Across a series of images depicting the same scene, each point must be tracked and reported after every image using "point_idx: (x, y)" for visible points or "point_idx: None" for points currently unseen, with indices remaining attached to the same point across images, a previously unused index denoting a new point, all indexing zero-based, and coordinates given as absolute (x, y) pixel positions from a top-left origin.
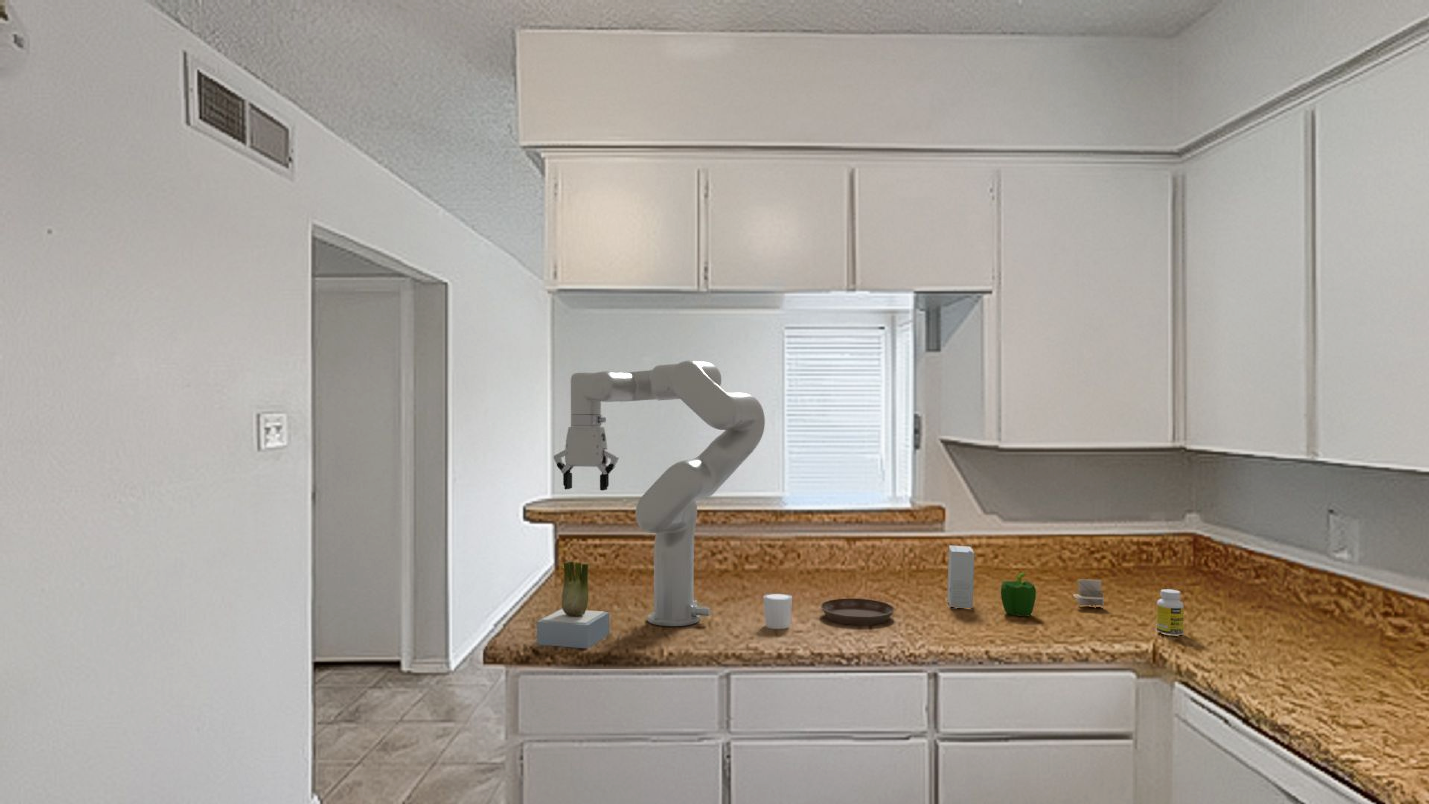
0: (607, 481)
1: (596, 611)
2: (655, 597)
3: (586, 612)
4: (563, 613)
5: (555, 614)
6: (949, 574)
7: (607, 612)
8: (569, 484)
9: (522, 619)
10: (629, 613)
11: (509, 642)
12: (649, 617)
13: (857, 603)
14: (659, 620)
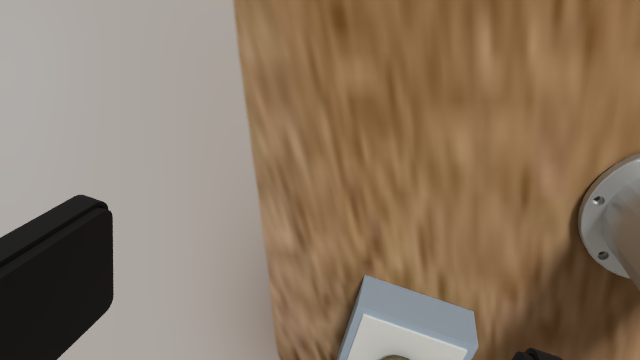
0: None
1: (446, 348)
2: (627, 270)
3: (423, 352)
4: (373, 352)
5: (357, 356)
6: None
7: (473, 347)
8: (80, 290)
9: (259, 179)
10: (528, 128)
11: (288, 331)
12: (585, 234)
13: None
14: (611, 264)
